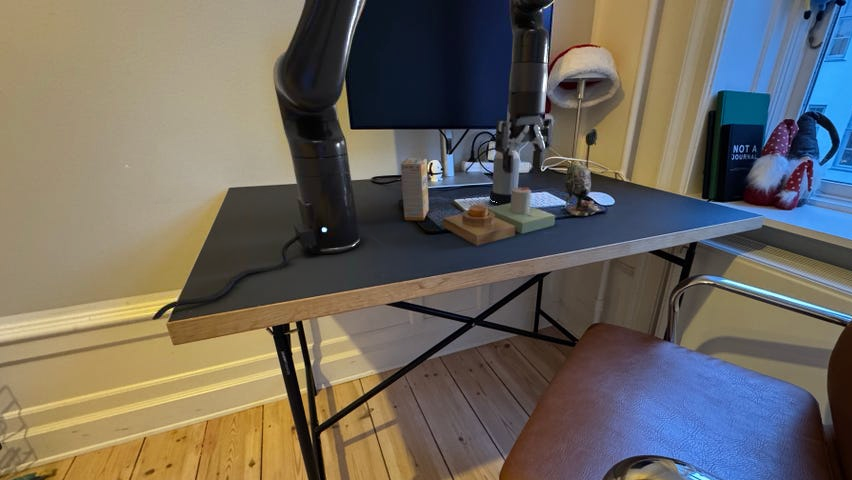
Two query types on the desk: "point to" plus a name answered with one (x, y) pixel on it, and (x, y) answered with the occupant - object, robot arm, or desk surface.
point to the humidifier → (504, 178)
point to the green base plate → (524, 218)
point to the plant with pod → (581, 183)
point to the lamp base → (479, 227)
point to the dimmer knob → (520, 200)
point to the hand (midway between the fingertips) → (522, 170)
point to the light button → (478, 211)
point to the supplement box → (415, 188)
